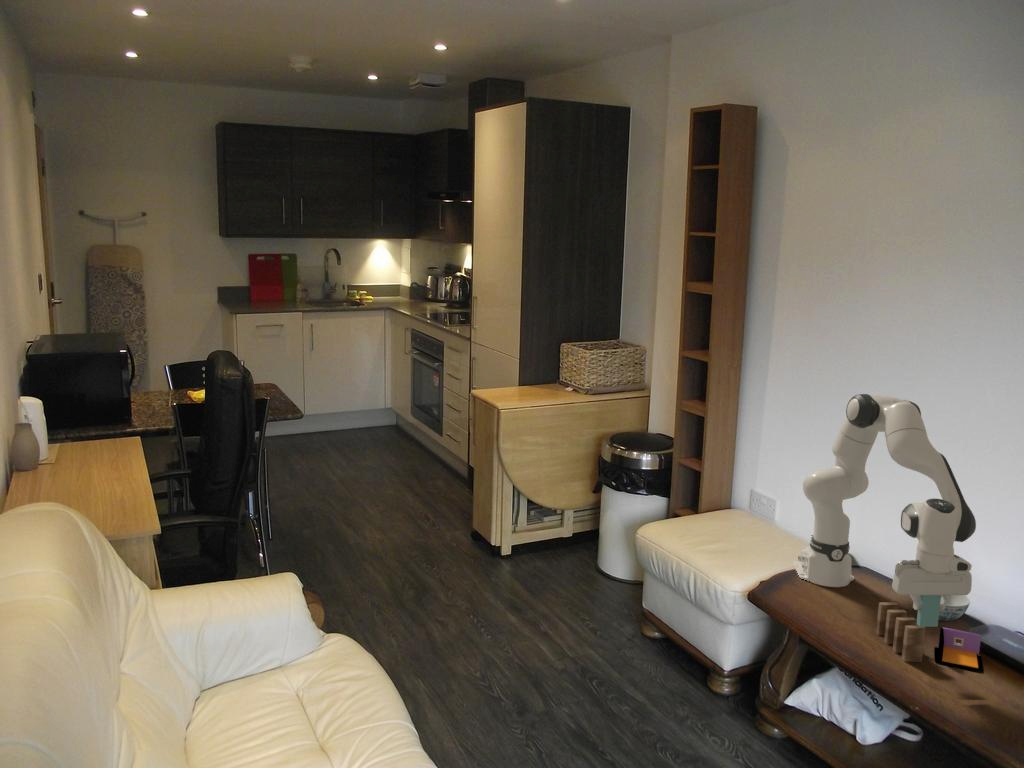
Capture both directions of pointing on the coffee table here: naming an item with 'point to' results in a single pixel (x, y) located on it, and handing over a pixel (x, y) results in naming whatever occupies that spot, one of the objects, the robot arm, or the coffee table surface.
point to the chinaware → (954, 607)
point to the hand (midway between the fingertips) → (928, 609)
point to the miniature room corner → (959, 650)
